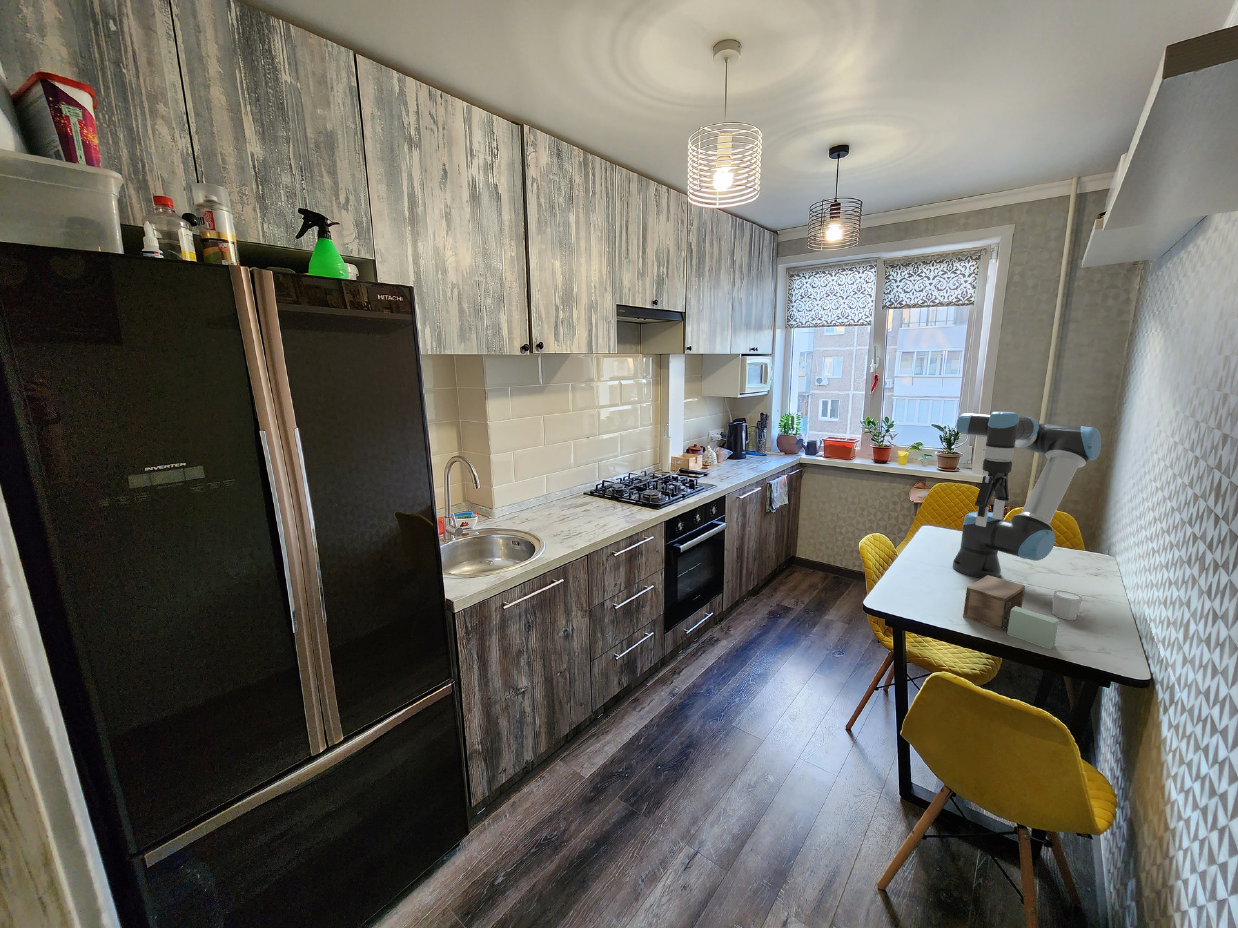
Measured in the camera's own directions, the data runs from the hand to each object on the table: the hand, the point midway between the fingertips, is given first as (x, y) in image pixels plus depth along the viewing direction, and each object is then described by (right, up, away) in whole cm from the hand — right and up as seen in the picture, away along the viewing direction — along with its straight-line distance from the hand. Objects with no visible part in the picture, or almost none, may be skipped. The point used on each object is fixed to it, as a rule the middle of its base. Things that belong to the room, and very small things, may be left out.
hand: (989, 522), depth 166 cm
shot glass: (+18, -29, -8) cm, 35 cm away
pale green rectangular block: (-5, -31, -22) cm, 39 cm away
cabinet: (-5, -29, -8) cm, 30 cm away
